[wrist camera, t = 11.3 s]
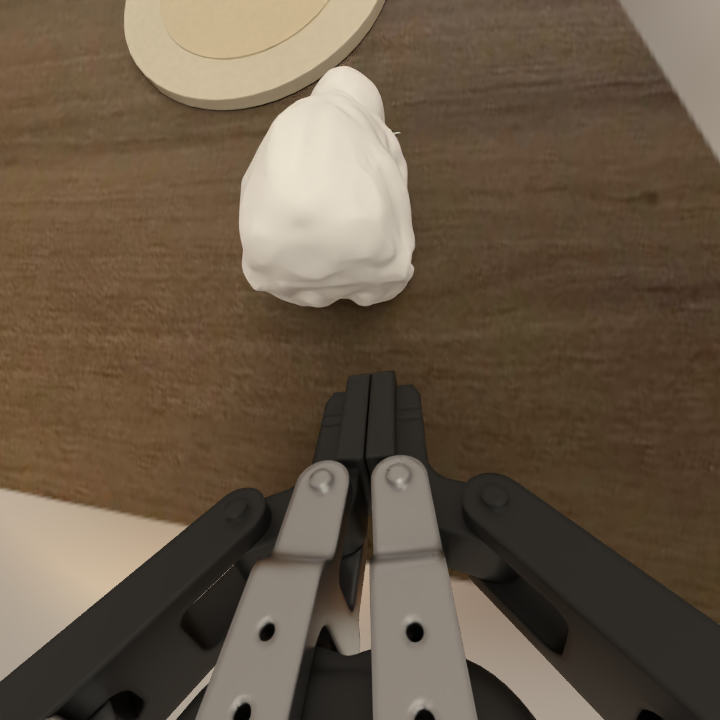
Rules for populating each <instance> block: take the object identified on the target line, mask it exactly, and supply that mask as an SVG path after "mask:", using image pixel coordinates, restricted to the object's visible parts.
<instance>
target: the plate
mask: <svg viewBox="0 0 720 720" xmlns="http://www.w3.org/2000/svg"><path fill="white" fill-rule="evenodd" d="M385 1H386V0H126V4H125V12H124V31H125V37H126V43H127V45H128V48H129V51H130V54H131V56H132V58H133V60H134V61H135V63H136V65H137V66H138V68H139V69H140V70H141V72H142V73H143V74H144V75H145V76H146V78H147V79H148V80H149V81H150V82H151V84H152V85H153V86H154V87H156V88H157V89H158V90H159V91H161V92H162V93H163V94H164V95H166V96H168V97H170V98H172V99H173V100H175V101H177V102H180V103H183V104H186V105H188V106H191V107H197V108H202V109H208V110H236V109H244V108H249V107H255V106H260V105H263V104H266V103H269V102H273V101H276V100H279V99H281V98H283V97H286V96H288V95H291V94H293V93H295V92H297V91H299V90H301V89H303V88H304V87H306V86H308V85H310V84H312V83H314V82H315V81H316V80H318V79H319V78H321V77H322V76H324V74H325V73H326V72H327V71H329V70H330V69H332V68H334V67H336V66H337V65H338V64H339V63H340V62H341V61H343V60H344V59H345V58H346V57H347V56H348V55H349V54H350V53H351V52H352V51H353V50H354V49H355V48H356V47H357V45H358V44H359V43H360V42H361V41H362V39H363V38H364V37H365V35H366V34H367V33H368V32H369V30H370V29H371V27H372V26H373V24H374V22H375V21H376V19H377V17H378V16H379V14H380V12H381V10H382V8H383V5H384V3H385Z"/></svg>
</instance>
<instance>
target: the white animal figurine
mask: <svg viewBox="0 0 720 720" xmlns="http://www.w3.org/2000/svg"><path fill="white" fill-rule="evenodd" d="M391 130H392V129H389V128H388V127H387V126H386V125H385V116H384V108H383V103H382V99H381V96H380V94H379V92H378V90H377V88H376V87H375V85H374V84H373V83H372V82H371V81H370V80H369V79H368V78H367V77H366V76H364V75H363V74H362V73H360V72H359V71H357V70H355V69H353V68H350V67H347V66H340V67H335V68H332V69H330V70H329V71H327V72H326V73H325V74H324V76H323V77H322V78H321V79H320V81H319V82H318V83H317V85H316V86H315V88H314V90H313V92H312V94H311V96H309V97H306V98H303V99H300V100H298V101H296V102H295V103H294V104H292V105H291V106H289V107H288V108H287V109H285V110H284V111H283V112H282V113H281V114H280V115H279V116H278V117H277V118H276V119H275V120H274V122H273V123H272V125H271V126H270V128H269V130H268V132H267V134H266V136H265V137H264V139H263V141H262V143H261V144H260V146H259V148H258V150H257V152H256V154H255V156H254V158H253V160H252V162H251V164H250V166H249V168H248V170H247V172H246V173H245V175H244V177H243V179H242V183H241V196H240V208H239V231H240V238H241V243H242V247H243V257H242V269H243V272H244V275H245V277H246V279H247V280H248V282H249V283H250V285H251V286H252V288H253V289H254V290H256V291H266V292H269V293H270V294H272V295H274V296H276V297H278V298H280V299H282V300H284V301H287V302H290V303H294V304H297V305H300V306H313V307H317V308H320V307H326V306H329V305H331V304H332V303H334V302H335V301H337V300H339V299H350V300H352V301H354V302H355V303H357V304H358V305H360V306H369V305H372V304H376V303H380V302H384V301H388V300H391V299H393V298H394V297H395V296H396V295H397V294H399V293H400V292H401V291H403V289H404V288H405V287H406V285H407V283H408V281H409V280H410V279H411V278H412V276H413V272H414V267H413V265H412V264H411V259H412V253H413V251H414V249H415V237H414V232H413V228H412V220H411V207H410V200H409V195H408V191H407V165H406V161H405V159H404V157H403V154H402V151H401V147H400V144H399V142H398V140H397V138H396V137H395V134H398V133H401V132H396V133H392V131H391Z"/></svg>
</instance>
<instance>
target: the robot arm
mask: <svg viewBox="0 0 720 720" xmlns="http://www.w3.org/2000/svg"><path fill="white" fill-rule="evenodd" d="M368 515H372V523H373V558H371V560H370V611H371V650H367V651H364V652H361V653H360V633H359V610H360V603H361V595H362V587H363V580H364V571H365V564H366V557H367V549H368V536H367V524H368ZM232 565H233V566H232ZM229 568H230V569H229ZM448 568H450V569H453V570H456V571H459V572H462V573H465V574H468V575H469V577H470V578H471V580H472V581H473V582H474V584H475V585H476V586H477V587H478V588H479V589H480V590H481V591H482V592H483V593H484V594H485V595H486V596H487V597H488V598H489V599H490V600H491V601H492V602H493V603H494V604H495V606H496V607H497V608H498V609H499V610H500V611H501V612H502V613H503V614H504V615H505V616H506V617H507V618H508V619H509V620H510V621H511V622H512V623H513V624H514V625H515V627H516V628H517V629H518V630H519V631H520V632H521V633H522V634H523V635H524V636H525V637H526V638H527V639H528V640H529V641H530V642H531V643H532V644H533V645H534V646H535V648H537V650H538V651H539V652H540V653H541V654H542V655H543V656H544V657H545V658H546V659H547V660H548V661H549V662H550V663H551V664H552V665H553V666H554V667H555V668H556V669H557V670H558V671H559V673H560V674H561V675H562V676H563V677H564V678H565V679H566V680H567V681H568V682H569V683H570V684H571V685H572V686H573V687H574V688H575V689H576V690H577V692H578V693H579V694H580V695H581V696H582V697H583V698H584V699H585V700H586V701H587V702H588V703H589V704H590V705H591V706H592V707H593V708H594V709H595V710H596V711H597V712H598V713H599V714H600V716H601V717H602V718H603V719H604V720H720V625H719V624H717V623H716V622H715V621H713V620H712V619H710V618H709V617H707V616H706V615H705V614H703V613H702V612H700V611H699V610H697V609H696V608H695V607H693V606H692V605H690V604H689V603H688V602H686V601H685V600H683V599H682V598H680V597H679V596H678V595H676V594H675V593H673V592H672V591H671V590H669V589H668V588H666V587H665V586H663V585H662V584H661V583H659V582H658V581H656V580H655V579H653V578H652V577H651V576H649V575H648V574H646V573H645V572H644V571H642V570H641V569H639V568H638V567H636V566H635V565H634V564H632V563H631V562H629V561H628V560H627V559H625V558H624V557H622V556H621V555H619V554H618V553H617V552H615V551H614V550H612V549H611V548H610V547H608V546H607V545H605V544H604V543H602V542H601V541H600V540H598V539H597V538H595V537H594V536H592V535H591V534H590V533H588V532H587V531H585V530H584V529H583V528H581V527H580V526H578V525H577V524H575V523H574V522H573V521H571V520H570V519H568V518H567V517H566V516H564V515H563V514H561V513H560V512H558V511H557V510H556V509H554V508H553V507H551V506H550V505H548V504H547V503H546V502H544V501H543V500H541V499H540V498H539V497H537V496H536V495H534V494H533V493H531V492H530V491H529V490H527V489H526V488H524V487H523V486H522V485H520V484H519V483H517V482H516V481H514V480H513V479H511V478H509V477H507V476H504V475H501V474H496V473H483V474H479V475H477V476H474V477H473V478H471V479H470V480H469V481H467V482H466V483H465V482H461V481H456V480H452V479H448V478H446V477H443V476H441V475H440V474H438V473H437V472H436V471H434V470H433V469H432V467H431V466H430V465H429V463H428V459H427V450H426V440H425V431H424V423H423V415H422V407H421V399H420V394H419V392H418V391H417V390H416V389H415V387H414V386H413V385H412V384H410V385H401V386H397V381H396V375H395V371H386V372H377V373H372V375H371V373H369V374H360V375H351V376H348V380H347V386H346V391H345V392H336V393H334V394H333V395H332V396H331V398H330V399H329V400H328V402H327V403H326V406H325V410H324V414H323V419H322V423H321V428H320V432H319V436H318V441H317V445H316V450H315V454H314V458H313V463H312V465H311V466H309V467H308V468H306V469H305V470H304V471H303V472H302V473H301V475H300V476H299V478H298V480H297V482H296V485H295V486H294V487H292V488H290V489H288V490H285V491H283V492H280V493H277V494H274V495H271V496H269V497H266V498H264V496H263V494H262V493H261V492H260V491H259V490H257V489H254V488H241V489H238V490H235V491H233V492H231V493H229V494H228V495H226V496H225V497H224V498H222V499H221V500H220V501H219V502H218V503H216V504H215V505H214V506H213V507H211V508H210V509H209V510H208V511H207V512H205V513H204V514H203V515H202V516H201V517H199V518H198V519H197V520H196V521H194V522H193V523H192V524H191V525H190V526H188V527H187V528H186V529H185V530H184V531H182V532H181V533H180V534H179V535H178V536H176V537H175V538H174V539H173V540H171V541H170V542H169V543H168V544H167V545H165V546H164V547H163V548H162V549H161V550H160V551H158V552H157V553H156V554H154V555H153V556H152V557H151V558H150V559H148V560H147V561H146V562H145V563H144V564H142V565H141V566H140V567H139V568H138V569H136V570H135V571H134V572H133V573H131V574H130V575H129V576H128V577H127V578H125V579H124V580H123V581H122V582H121V583H119V584H118V585H117V586H116V587H114V588H113V589H112V590H111V591H110V592H108V593H107V594H106V595H105V596H104V597H102V598H101V599H100V600H99V601H98V602H96V603H95V604H94V605H93V606H91V607H90V608H89V609H88V610H87V611H86V612H84V613H83V614H82V615H81V616H79V617H78V618H77V619H76V620H74V621H73V622H72V623H71V624H70V625H68V626H67V627H66V628H65V629H64V630H62V631H61V632H60V633H59V634H57V635H56V636H55V637H54V638H53V639H51V640H50V641H49V642H48V643H47V644H46V645H44V646H43V647H42V648H41V649H39V650H38V651H37V652H36V653H35V654H33V655H32V656H31V657H30V658H28V659H27V660H26V661H25V662H24V663H22V664H21V665H20V666H19V667H17V668H16V669H15V670H14V671H13V672H11V673H10V674H9V675H8V676H7V677H6V678H4V679H3V680H2V681H1V682H0V720H166V719H167V718H168V717H169V716H170V715H171V713H172V712H173V711H174V710H175V709H176V708H177V707H178V706H179V705H180V703H181V702H182V701H183V700H184V699H185V698H186V697H187V696H188V695H189V694H190V692H191V691H192V690H193V689H194V688H195V687H196V686H197V685H198V684H199V683H200V682H201V680H202V679H203V678H204V677H205V676H206V675H207V674H208V673H209V671H210V670H211V669H212V668H213V667H214V666H215V668H214V671H213V674H212V676H211V679H210V681H209V683H208V685H206V686H205V687H204V688H203V689H202V690H201V691H200V692H199V694H198V695H197V696H196V697H195V698H194V699H193V700H192V702H191V703H190V704H189V705H188V706H187V708H186V709H185V710H184V711H183V712H182V713H181V715H180V716H179V717H178V718H177V719H176V720H536V719H535V717H534V716H533V715H532V714H531V712H530V711H529V710H528V708H527V707H526V706H525V705H524V704H523V703H522V701H521V700H520V699H519V698H518V697H517V696H516V695H515V694H514V693H513V692H512V691H511V690H510V689H509V688H508V686H506V685H505V684H504V683H503V682H502V681H501V680H499V679H498V678H497V677H496V676H495V675H493V674H492V673H490V672H489V671H487V670H486V669H484V668H483V667H481V666H479V665H477V664H475V663H473V662H471V661H469V660H467V659H466V658H465V653H464V649H463V643H462V639H461V633H460V628H459V623H458V618H457V613H456V608H455V603H454V598H453V593H452V588H451V583H450V578H449V573H448ZM228 569H229V570H228ZM227 570H228V571H227ZM226 571H227V572H226ZM225 572H226V573H225ZM224 573H225V574H224ZM223 574H224V575H223ZM222 575H223V576H222ZM221 576H222V577H221ZM220 577H221V578H220ZM219 578H220V579H219ZM218 579H219V580H218ZM217 580H218V581H217ZM216 581H217V582H216ZM215 582H216V583H215ZM214 583H215V584H214ZM213 584H214V585H213ZM205 591H206V592H205ZM204 592H205V593H204ZM203 593H204V594H203ZM202 594H203V595H202ZM201 595H202V596H201ZM200 596H201V597H200ZM199 597H200V598H199ZM198 598H199V599H198ZM197 599H198V600H197ZM196 600H197V601H196ZM195 601H196V602H195ZM194 602H195V603H194Z"/></svg>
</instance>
